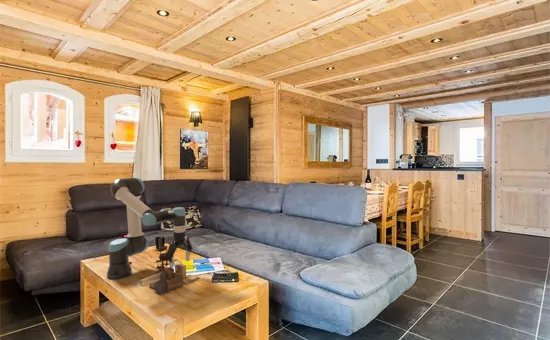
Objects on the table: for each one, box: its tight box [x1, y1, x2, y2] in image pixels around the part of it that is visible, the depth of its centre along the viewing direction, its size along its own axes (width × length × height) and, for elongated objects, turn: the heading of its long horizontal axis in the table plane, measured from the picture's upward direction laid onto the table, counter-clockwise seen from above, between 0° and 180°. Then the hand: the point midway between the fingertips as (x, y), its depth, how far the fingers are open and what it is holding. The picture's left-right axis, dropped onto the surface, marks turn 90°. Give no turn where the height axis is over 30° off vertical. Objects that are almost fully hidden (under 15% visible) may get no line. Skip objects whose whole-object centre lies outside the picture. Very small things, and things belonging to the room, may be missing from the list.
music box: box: [153, 245, 177, 272], centre depth 210 cm, size 15×11×20 cm
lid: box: [174, 262, 200, 285], centre depth 202 cm, size 16×11×9 cm
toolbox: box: [148, 269, 184, 296], centre depth 188 cm, size 16×16×12 cm
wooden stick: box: [139, 272, 162, 288], centre depth 176 cm, size 3×14×3 cm, turn 150°
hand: (179, 263), depth 204 cm, fingers open, 13 cm apart
